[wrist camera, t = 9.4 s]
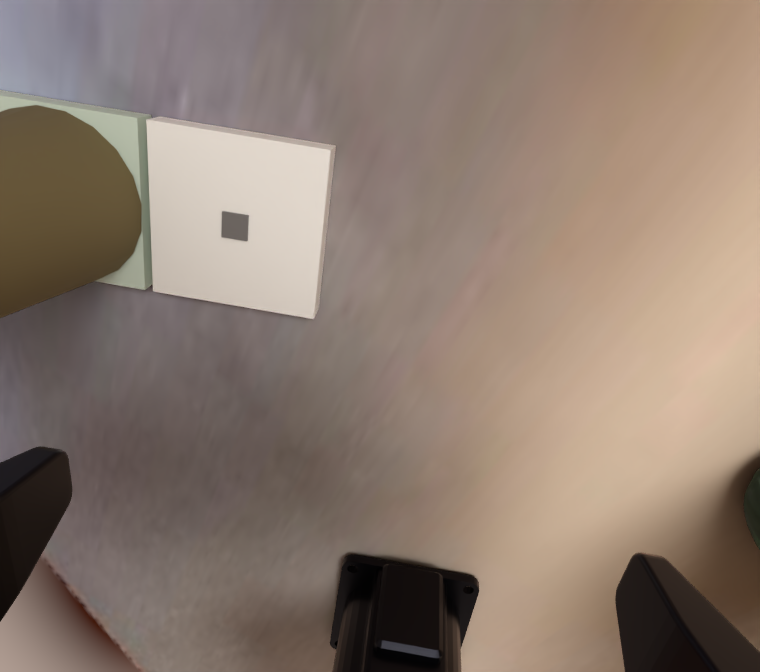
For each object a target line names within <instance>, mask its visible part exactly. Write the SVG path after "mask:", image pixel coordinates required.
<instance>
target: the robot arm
mask: <svg viewBox="0 0 760 672" xmlns="http://www.w3.org/2000/svg"><path fill="white" fill-rule="evenodd" d="M71 497H72V482H71V474H70V467H69V459H68V455H67V454H66V452H65V451H63V450H60V449H54V448H48V447H36V448H33V449H31V450H28V451H26V452H24V453H21V454H19V455H17V456H15V457H12V458H10V459H8V460H6V461H3V462H1V463H0V621H1V620H2V618H3V617H4V615H5V614H6V613H7V611H8V610H9V608H10V607H11V605H12V604H13V602H14V601H15V599H16V598H17V596H18V595H19V593H20V591H21V590H22V588H23V586H24V585H25V583H26V581H27V579H28V578H29V576H30V574H31V572H32V571H33V569H34V567H35V564H36V563H37V562H38V560H39V558H40V556H41V554H42V552H43V551H44V549H45V547H46V545H47V543H48V542H49V540H50V538H51V536H52V534H53V533H54V531H55V529H56V527H57V525H58V524H59V522H60V520H61V518H62V516H63V515H64V513H65V511H66V509H67V507H68V505H69V503H70V501H71ZM351 565H354V566H351ZM466 586H470V587H466ZM478 593H479V582H478V580H477V579H476V578H475V577H472V576H469V575H463V574H458V573H452V572H447V571H441V570H436V569H430V568H425V567H419V566H414V565H408V564H402V563H397V562H391V561H386V560H380V559H375V558H369V557H364V556H358V555H348V556H346V557H345V558H344V560H343V565H342V571H341V577H340V584H339V590H338V596H337V602H336V609H335V615H334V621H333V627H332V633H331V640H330V645H331V646H332V647H333V648H334V649H336V655H335V661H334V667H333V672H461V646H462V643H463V640H464V637H465V634H466V631H467V627H468V624H469V621H470V618H471V615H472V612H473V609H474V606H475V603H476V600H477V596H478ZM616 610H617V617H618V624H619V631H620V639H621V646H622V653H623V660H624V667H625V672H760V652H759V651H758V650H757V649H756V648H755V647H754V646H753V645H752V644H751V643H750V642H749V641H748V640H747V639H746V638H745V637H744V636H743V635H742V634H741V633H740V632H739V631H738V630H737V629H736V628H735V627H734V626H733V625H732V624H731V623H730V622H729V621H728V620H727V619H726V618H725V617H724V616H723V615H722V614H721V613H720V612H719V611H718V610H717V609H716V608H715V607H714V606H713V605H712V604H711V603H710V602H709V601H708V600H707V599H706V598H705V597H704V596H703V595H702V594H701V593H700V592H699V591H698V590H697V589H696V588H695V587H694V586H693V585H692V584H691V583H690V582H689V581H688V580H687V579H686V578H685V577H684V576H683V575H682V574H681V573H680V572H679V571H678V570H677V569H676V568H675V567H674V566H673V565H672V564H671V563H670V562H669V561H667V560H666V559H665V558H663V557H661V556H657V555H651V554H646V553H636V554H634V555H633V556H632V558H631V560H630V562H629V564H628V566H627V568H626V570H625V572H624V574H623V576H622V578H621V580H620V583H619V585H618V587H617V590H616Z"/></svg>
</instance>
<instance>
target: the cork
mask: <svg viewBox="0 0 760 672" xmlns="http://www.w3.org/2000/svg"><path fill="white" fill-rule="evenodd" d="M141 215H142V204H141V201H140V198H139V194H138V191H137V188H136V184H135V181H134V178H133V175H132V174H131V172H130V170H129V169H128V167H127V166H126V164H125V162H124V161H123V159H122V158H121V156H120V154H119V153H118V151H117V149H116V148H115V147H114V146H112V145H111V144H110V143H109V142H108V141H107V140H106V139H105V138H104V137H103V136H102V135H101V134H100V133H99V132H98V131H97V130H96V129H95V128H94V127H93V126H91V125H89V124H87V123H85V122H84V121H82V120H80V119H78V118H77V117H75V116H73V115H71V114H69V113H68V112H66V111H62V110H57V109H53V108H48V107H44V106H39V105H32V106H24V107H17V108H10V109H7V110H4V111H1V112H0V318H2V317H4V316H7V315H9V314H12V313H14V312H17V311H20V310H22V309H25V308H27V307H30V306H32V305H35V304H37V303H40V302H42V301H45V300H47V299H50V298H53V297H55V296H58V295H60V294H63V293H65V292H68V291H70V290H73V289H75V288H78V287H80V286H83V285H86V284H88V283H91V282H93V281H96V280H98V279H100V278H102V277H105V276H107V275H109V274H111V273H113V272H115V271H117V270H119V269H120V268H121V266H122V265H123V264H124V263H125V262H126V261H127V260H128V259H129V258H130V257H131V255H132V254H133V253H134V250H135V247H136V245H137V242H138V239H139V236H140V234H141Z"/></svg>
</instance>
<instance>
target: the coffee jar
mask: <svg viewBox="0 0 760 672" xmlns="http://www.w3.org/2000/svg"><path fill="white" fill-rule="evenodd" d="M744 513H745V518H746V522H747V525H748V528H749V530H750V532H751V534H752V537H753V539H754V541H755V543H756V545H757V547H758V548H759V550H760V468H759V469H758V470H757V471H756V472H755V474H754V476H753V478H752V480H751V482H750V484H749V485H748V487H747V490H746V493H745V496H744Z"/></svg>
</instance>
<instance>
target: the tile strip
mask: <svg viewBox="0 0 760 672" xmlns="http://www.w3.org/2000/svg"><path fill="white" fill-rule="evenodd" d="M32 105H39V106H44V107H48V108H53V109H57V110H62V111H66V112H68V113H69V114H71V115H73V116H75V117H77V118H78V119H80V120H82V121H84V122H85V123H87V124H89V125H91V126H93V127H94V128H95V129H96V130H97V131H98V132H99V133H100V134H101V135H102V136H103V137H104V138H105V139H106V140H107V141H108V142H109V143H110V144H111V145H112V146H114V147H115V148H116V149H117V151H118V153H119V154H120V156H121V158H122V159H123V161H124V162H125V164H126V166H127V167H128V169H129V170H130V172H131V174H132V175H133V178H134V181H135V184H136V188H137V191H138V194H139V198H140V201H141V204H142V215H141V234H140V236H139V239H138V242H137V245H136V247H135V250H134V253H133V254H132V255H131V257H130V258H129V259H128V260H127V261H126V262H125V263H124V264H123V265H122V266H121V268H120V269H119V270H117V271H115V272H113V273H111V274H109V275H107V276H105V277H102V278H100V279H98V280H96V281H95V282H101V283H107V284H113V285H119V286H124V287H130V288H136V289H142V290H146V289H147V288H148V287H150V286H151V285H152V284H153V292H159V293H165V294H171V295H177V296H182V297H188V298H194V299H200V300H206V301H211V302H217V303H223V304H229V305H235V306H240V307H246V308H252V309H258V310H264V311H269V312H275V313H281V314H287V315H293V316H299V317H304V318H310V319H314V317H315V315H316V313H317V311H318V309H319V303H320V293H321V284H322V274H323V265H324V255H325V245H326V236H327V226H328V217H329V207H330V198H331V188H332V178H333V169H334V159H335V150H336V145H330V144H323V143H317V142H311V141H305V140H299V139H293V138H287V137H281V136H275V135H269V134H263V133H257V132H251V131H245V130H239V129H233V128H227V127H221V126H215V125H209V124H203V123H197V122H191V121H184V120H178V119H172V118H166V117H155V118H151V115H148V114H142V113H136V112H130V111H124V110H118V109H112V108H106V107H100V106H94V105H88V104H82V103H76V102H70V101H64V100H58V99H52V98H45V97H39V96H33V95H27V94H21V93H15V92H9V91H3V90H0V112H1V111H4V110H7V109H10V108H17V107H24V106H32Z"/></svg>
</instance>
